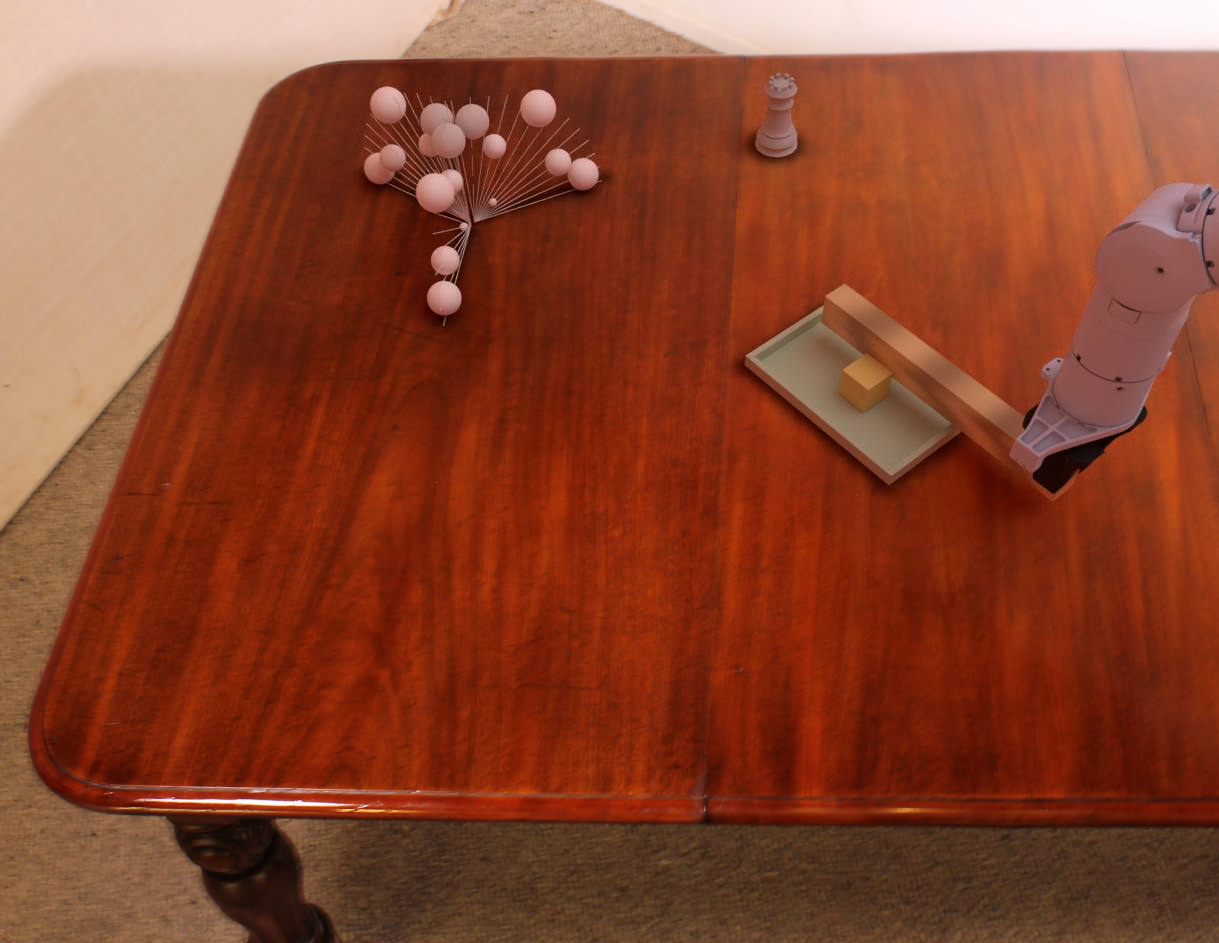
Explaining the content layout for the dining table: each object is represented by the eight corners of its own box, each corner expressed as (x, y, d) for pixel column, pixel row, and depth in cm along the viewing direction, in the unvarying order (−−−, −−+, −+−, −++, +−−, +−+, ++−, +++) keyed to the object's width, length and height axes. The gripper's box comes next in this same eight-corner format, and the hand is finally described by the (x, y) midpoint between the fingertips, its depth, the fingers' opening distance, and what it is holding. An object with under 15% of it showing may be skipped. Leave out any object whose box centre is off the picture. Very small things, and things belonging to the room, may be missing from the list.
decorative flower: (314, 320, 102) (268, 201, 90) (370, 171, 115) (336, 50, 104) (575, 331, 99) (562, 210, 88) (602, 177, 112) (593, 54, 101)
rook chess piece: (752, 135, 115) (757, 68, 109) (794, 133, 115) (801, 66, 109) (756, 161, 113) (761, 94, 106) (799, 159, 112) (806, 92, 106)
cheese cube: (888, 396, 92) (893, 372, 90) (863, 413, 91) (868, 390, 89) (862, 376, 94) (867, 352, 91) (837, 393, 93) (842, 369, 90)
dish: (981, 418, 91) (985, 406, 89) (888, 487, 87) (891, 476, 86) (834, 308, 99) (836, 296, 98) (744, 367, 95) (745, 355, 94)
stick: (1072, 486, 83) (1085, 461, 80) (1052, 502, 82) (1064, 477, 80) (840, 309, 95) (844, 282, 93) (820, 322, 94) (824, 295, 92)
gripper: (1133, 269, 75) (1075, 396, 86) (995, 369, 70) (952, 490, 81) (1223, 324, 72) (1151, 449, 83) (1085, 434, 67) (1027, 551, 78)
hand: (1058, 473), depth 82 cm, fingers closed on stick, 2 cm apart
